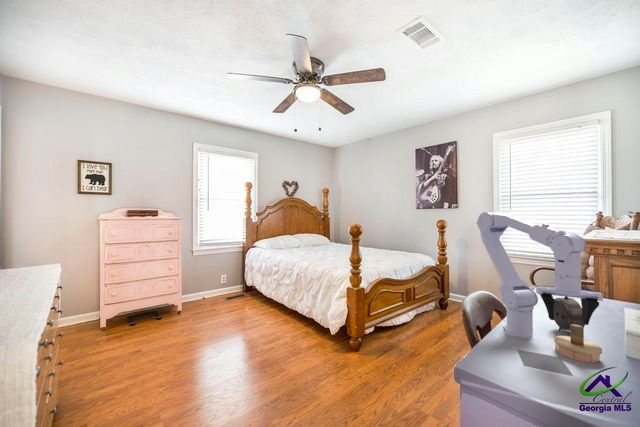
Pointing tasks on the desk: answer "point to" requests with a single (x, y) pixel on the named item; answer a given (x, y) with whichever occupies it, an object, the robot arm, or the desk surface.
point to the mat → (544, 362)
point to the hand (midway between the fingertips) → (567, 321)
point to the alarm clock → (567, 313)
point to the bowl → (577, 355)
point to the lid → (577, 342)
